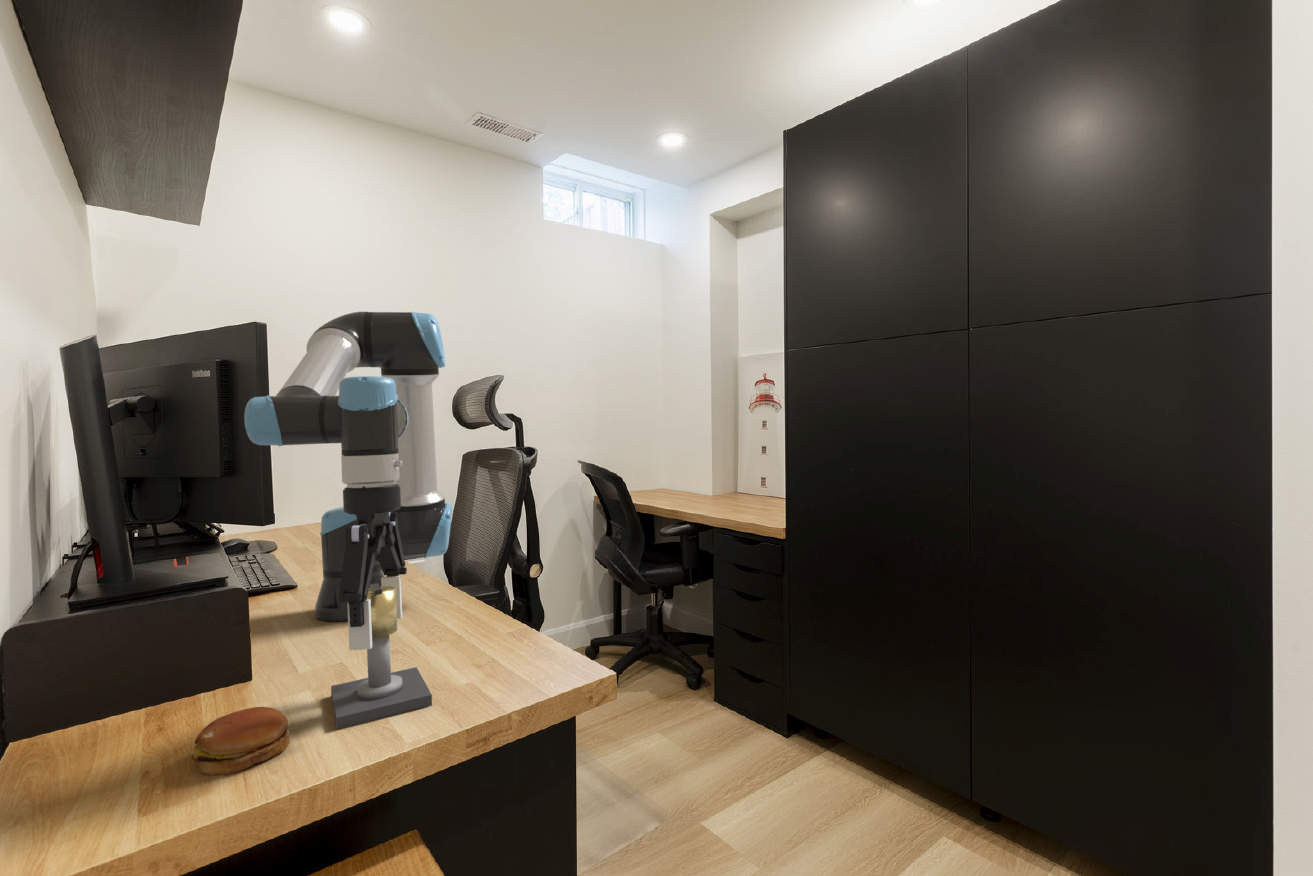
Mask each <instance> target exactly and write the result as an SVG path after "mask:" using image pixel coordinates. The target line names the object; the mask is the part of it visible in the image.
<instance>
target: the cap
mask: <svg viewBox="0 0 1313 876" xmlns="http://www.w3.org/2000/svg"><path fill="white" fill-rule="evenodd" d="M367 599H370V601H371V625H372V638H379V637H384V636H387V635H389V636H391V635H392V634H394V633H396V632H397V631H398V619H397V609H396V588H395V587H391V586H379V584H378V583H376V584H370V588H369V591H368V596H367Z"/></svg>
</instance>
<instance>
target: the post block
mask: <svg viewBox="0 0 1313 876" xmlns="http://www.w3.org/2000/svg"><path fill="white" fill-rule="evenodd" d="M390 644H391V643H390V635H387V636H384V637H379V638H372V648H371V649H366V655H367V656H366V657H367V658H366V659H367V660H366V661H367V677H365V678H360V679H357V680H351V681H349V682H342V683H338V684H333V685H331V686H330V691H331V692H330V693H331V696H330V697H331V702H332V706H333V707H332V708H333V714H334V719H335V727H336V730H340V729H344V728H347V727H351V726H356V725H360V724H363V723H367V722H371V721H374V720H379V719H384V718H387V717H390V716H394V715H398V714H402V713H407V712H412V711H414V710H419V709H422V708H426V707H430V706H432V705H433V698H432V697H433V694H432V693H431V691H430V689H429V687H428V685H427V684H426V682H425V680H424V678H423V677H422V675H421V673H420V671H419V669H418V667H417V666H416V667H411V668H406V669H401V670H397V671H392V670H391V668H392V667H391V645H390Z"/></svg>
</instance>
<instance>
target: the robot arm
mask: <svg viewBox="0 0 1313 876" xmlns="http://www.w3.org/2000/svg"><path fill="white" fill-rule="evenodd" d="M444 367H446V357H445V349H444V342H443V339H442V334H441V329H440V325H439V321H438V320H437V318H436V317H435V316H434V315H433V314H431V313H426V312H425V313H424V312H415V311H411V312H410V311H409V312H408V311H407V312H406V311H405V312H403V311H401V312H397V311H396V312H395V311H394V312H391V311H375V312H374V311H356V312H350V313H347V314H343V315H340V316H337V317H336V318H334V319H333V318H332V319H331V320H329V321H328V322H326V323H324V324H322V325H321V326H320V327H318V328H317V329H316V330H315V331H314V332H313V334H311V336H310V337H309V338H308V340H307V343H306V353H305V355H304V356H303V357H302V359H301V360H300V361H299V363H298V364H297V366H296V367H295V368H294V370H293V371H292V373H291V375H289V377H288V378H287V380H286V381H285V383H284V384H283V385H282V387H281V388H280V390H279V391H278V393H276V395H275V396H274V395H273V396H272V395H270V394H269V395H265V396H254V397H252V398H250V399H249V400H248V402H247V403H246V406H245V408H244V409H245V410H244V419H243V420H244V428H245V431H246V434H247V436H248V439H249V440H250V441H251V443H253V444H256V445H258V446H278V447H283V446H299V445H300V446H301V445H321V444H327V445H328V444H341V446H340V447H341V448H340V449H341V455H340V456H341V458H340V459H341V460H340V461H341V464H340V465H341V482H342V484H344V485H346V487H344V488H343V490H342V504H343V506H341V507H337V508H333V509H329V510H328V511H325V512H324V513H323V515H322V517H321V523H320V527H321V528H320V530H321V531H320V533H319V534H320V536H321V537H320V539H321V556H322V561H321V562H322V582H321V587H320V589H319V592H318V596H317V600H316V602H315V606H314V613H315V618H316V619H318V620H321V621H325V622H344V621H347V627H348V630H347V631H348V650H349V651H359V650H367V649H371V648H372V625H371V601H370V599H367V596H368V591H369V588H370V584H376V583H378V584H379V586H391V587H395V588H396V609H397V620H399V619H400V620H401V619H402V618H403V601H402V600H403V599H402V581H401V580H402V577H401V575H407V573H408V570H407V569H408V568H407V567H406V561H405V560H410V559H422V558H423V559H428V558H430V557H431V558H432V557H440V556H443V555H444V554H446V553H447V552H448V548H449V544H450V543H449V542H450V541H449V540H450V536H451V525H452V524H451V523H452V514H453V505H452V504H451V503H449V502H447V503H446V500H445V499H446V498H445V495H444V494H443V493H442V492H441V491H440V490H438V483H437V482H438V481H437V480H438V478H437V477H438V475H437V459H436V442H435V441H436V440H435V439H436V437H435V422H434V420H435V417H434V399H433V396H434V395H433V382H434V381H436V379H437V378H438V377H439V376H440V372H439V368H440V369H442V368H444ZM357 368H380V374H381V375H380V376H374V375H373V376H371V375H370V376H365V375H364V376H362V375H361V376H347V377H346V375H347V374H349V373H351V372H352V371H353V370H354V369H357ZM337 393H338V395H337Z"/></svg>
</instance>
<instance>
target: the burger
mask: <svg viewBox="0 0 1313 876" xmlns="http://www.w3.org/2000/svg"><path fill="white" fill-rule="evenodd" d="M288 728H289V720H288V718H287V716H286V715H285V714H284V713H282V712H281V711H280V710H278V709H276V708H273V707H270V706H269V707H268V706H255V707H249V708H245V709H241V710H237V711H234V712H231V713H229V714H226V715H223V716H220V717H218V718H216V719H215V720H212V721H211V722H210V723H208V724H207V725H206V726H205V727H204V728H203V729H202V730H201V731H200V733H199V734H198V735H197V737H196V738H195V741H194V744H195V746H194V751H193V754H192V755H191V759H192V760H193V761H194V762H195V763H196V764H197V770H199V771H198V772H199V773H201V774H202V775H206V776H215V777H217V776H219V775H222V776H226V775H229V774H235V773H238V772H241V771H244V770H246V769H248V768H250V767H252V766H253V765H254V764H260V763H263V762H264V761H267V760H269V759H270V758H273V757H275V756H277V755H278V754H280V753H283V751H285V750H286V749H287V748H288V746H289V745H290V742H291V736H290V731H289V730H288Z"/></svg>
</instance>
